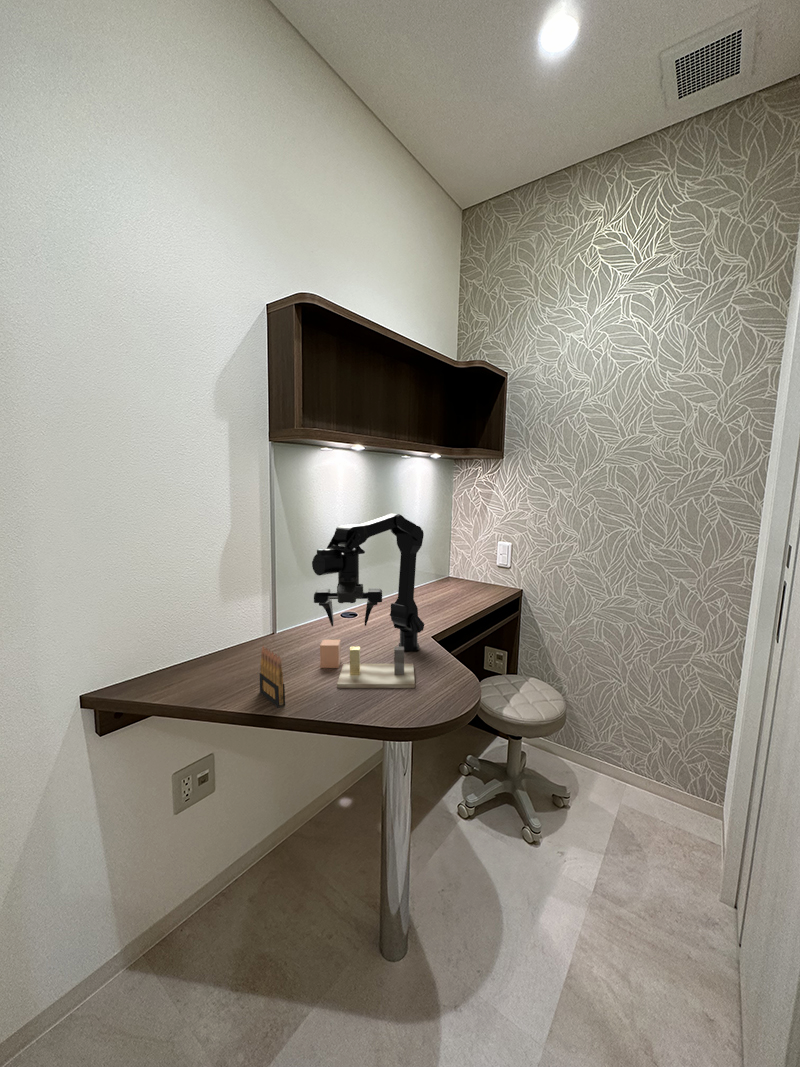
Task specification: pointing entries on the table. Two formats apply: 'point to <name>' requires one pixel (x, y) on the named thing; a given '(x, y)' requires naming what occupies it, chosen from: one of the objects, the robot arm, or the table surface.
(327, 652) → the peach rectangular block
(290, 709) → the table surface
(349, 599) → the robot arm
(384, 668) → the post board
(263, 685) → the ammunition clip
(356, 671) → the post
